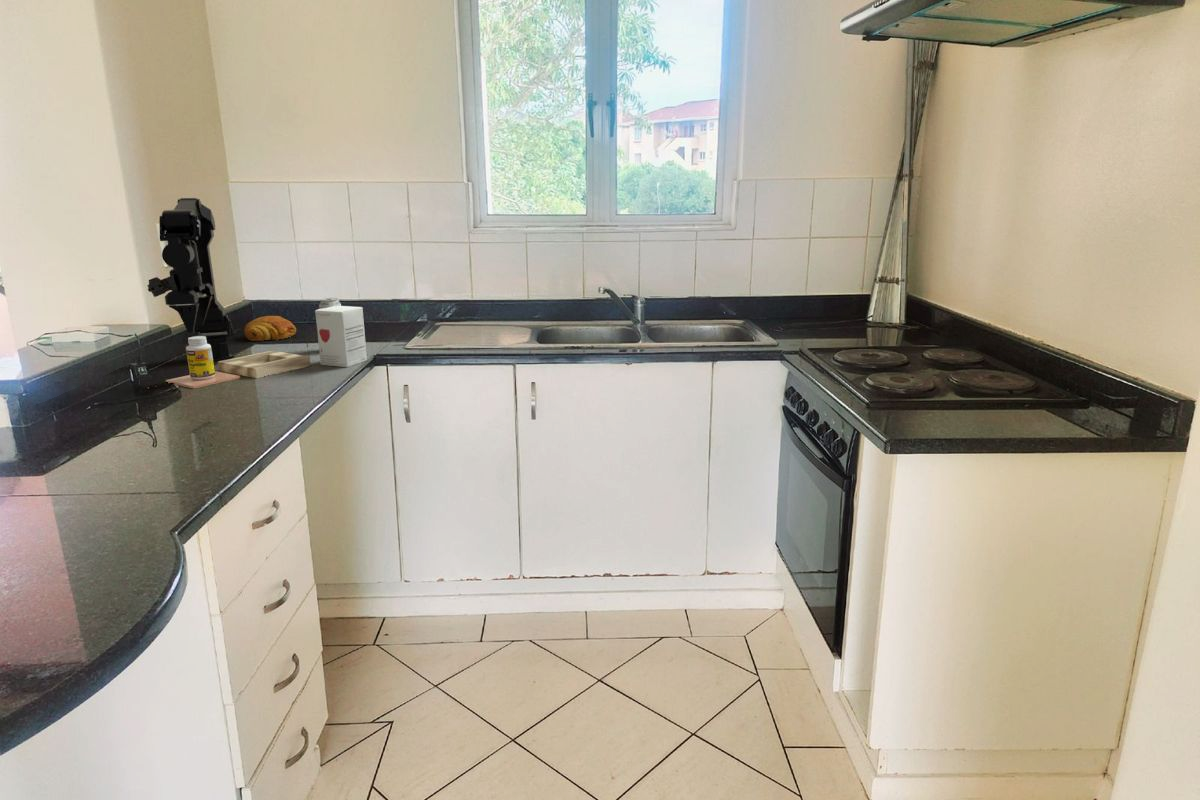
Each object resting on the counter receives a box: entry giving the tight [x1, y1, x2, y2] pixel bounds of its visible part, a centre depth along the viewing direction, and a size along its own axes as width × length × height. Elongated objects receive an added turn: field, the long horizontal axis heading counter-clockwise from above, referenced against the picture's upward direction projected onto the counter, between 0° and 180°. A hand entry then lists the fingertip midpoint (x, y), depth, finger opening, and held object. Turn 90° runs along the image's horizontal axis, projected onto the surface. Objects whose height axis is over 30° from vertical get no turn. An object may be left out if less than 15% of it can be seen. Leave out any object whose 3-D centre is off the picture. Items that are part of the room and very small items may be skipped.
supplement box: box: [314, 305, 368, 368], centre depth 206 cm, size 9×9×15 cm
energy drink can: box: [318, 297, 342, 309], centre depth 222 cm, size 6×6×15 cm
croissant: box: [243, 315, 297, 342], centre depth 244 cm, size 14×16×8 cm
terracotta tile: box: [165, 370, 241, 389], centre depth 190 cm, size 12×12×1 cm
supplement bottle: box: [185, 335, 216, 380], centre depth 189 cm, size 6×6×10 cm
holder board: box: [217, 350, 311, 379], centre depth 202 cm, size 16×16×2 cm
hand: (195, 328), depth 187 cm, fingers open, 9 cm apart
